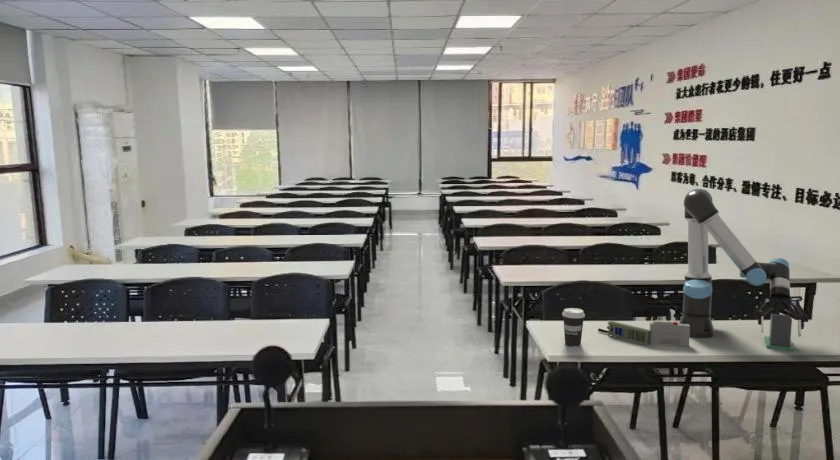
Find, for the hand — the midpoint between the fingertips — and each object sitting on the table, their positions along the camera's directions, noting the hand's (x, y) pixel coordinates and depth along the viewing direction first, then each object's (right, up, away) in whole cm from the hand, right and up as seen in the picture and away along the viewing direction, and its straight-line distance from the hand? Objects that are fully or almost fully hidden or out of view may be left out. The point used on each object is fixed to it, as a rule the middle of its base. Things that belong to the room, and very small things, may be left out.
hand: (780, 333), depth 250 cm
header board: (+2, -6, +5) cm, 8 cm away
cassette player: (-44, -6, +7) cm, 45 cm away
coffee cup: (-85, -6, +8) cm, 86 cm away
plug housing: (+1, -5, +3) cm, 6 cm away
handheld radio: (-61, -5, +16) cm, 63 cm away
